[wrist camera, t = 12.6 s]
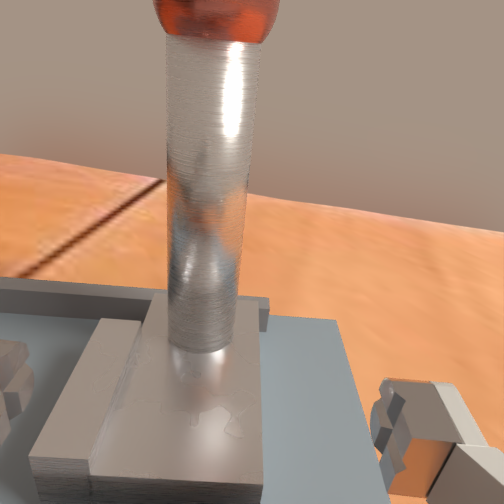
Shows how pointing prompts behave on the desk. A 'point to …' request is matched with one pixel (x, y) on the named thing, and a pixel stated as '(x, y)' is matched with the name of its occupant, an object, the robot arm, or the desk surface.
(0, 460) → the press bed
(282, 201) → the desk surface
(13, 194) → the desk surface
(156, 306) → the lever
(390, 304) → the desk surface
